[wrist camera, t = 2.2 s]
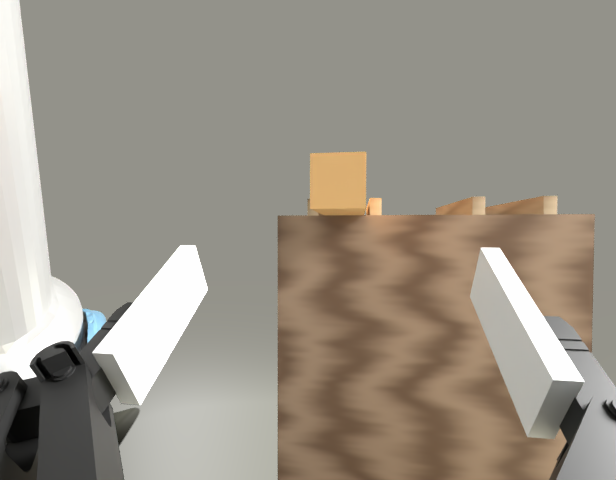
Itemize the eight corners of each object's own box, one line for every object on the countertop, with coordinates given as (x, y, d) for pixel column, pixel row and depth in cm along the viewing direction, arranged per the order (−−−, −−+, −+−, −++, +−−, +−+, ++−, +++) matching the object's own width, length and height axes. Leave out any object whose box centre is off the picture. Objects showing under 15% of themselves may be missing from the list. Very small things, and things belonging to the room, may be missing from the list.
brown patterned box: (277, 537, 32) (277, 199, 31) (302, 445, 46) (302, 209, 45) (586, 579, 28) (594, 195, 28) (512, 465, 42) (516, 207, 41)
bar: (310, 208, 22) (310, 153, 22) (335, 220, 46) (335, 194, 46) (365, 208, 21) (366, 151, 21) (362, 220, 45) (362, 193, 45)
